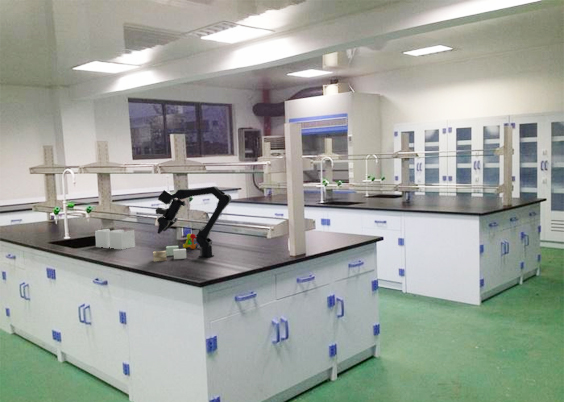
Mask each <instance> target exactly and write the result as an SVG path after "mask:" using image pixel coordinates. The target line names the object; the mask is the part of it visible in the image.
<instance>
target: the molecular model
mask: <svg viewBox="0 0 564 402" xmlns="http://www.w3.org/2000/svg"><path fill="white" fill-rule="evenodd" d="M196 237H197V236H196V234H195V233H187V235H186V241H185V243H183V244H182V249H188V248H190V249H192V250H195V249H196V248H197V247H199V244H198V243H197V241H196V242H195V240H196Z"/></svg>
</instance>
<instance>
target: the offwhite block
mask: <svg viewBox="0 0 564 402" xmlns="http://www.w3.org/2000/svg"><path fill="white" fill-rule="evenodd" d="M173 253H174V255H173V260H183V259H187V248H178V249H173Z"/></svg>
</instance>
